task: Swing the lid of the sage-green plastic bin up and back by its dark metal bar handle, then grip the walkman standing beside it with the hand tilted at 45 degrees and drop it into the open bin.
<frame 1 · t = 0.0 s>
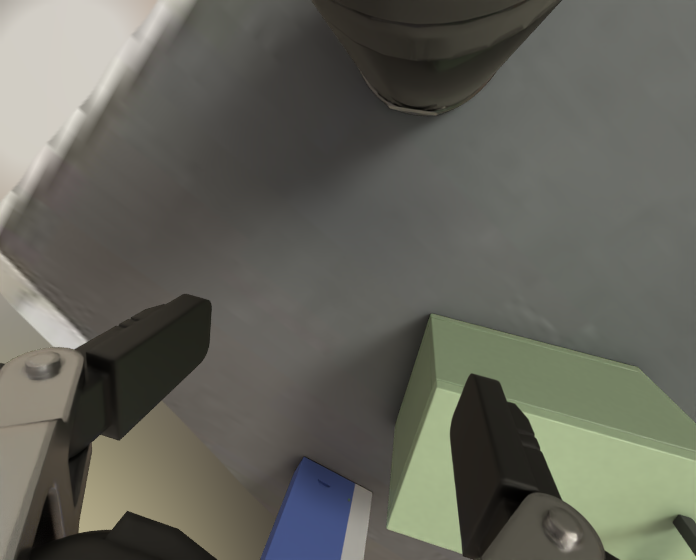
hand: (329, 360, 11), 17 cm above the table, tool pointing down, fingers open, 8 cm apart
walkman: (333, 480, 36), on the table
lid: (563, 545, 18), point 12 cm above the table, hinge at 0.0°
bin: (504, 398, 29), on the table
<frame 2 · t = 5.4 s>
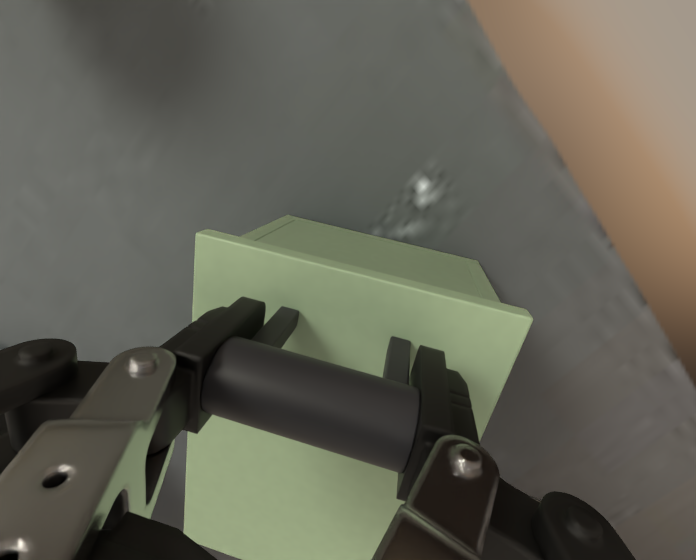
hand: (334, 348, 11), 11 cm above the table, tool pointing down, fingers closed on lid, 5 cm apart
lid: (300, 500, 13), point 12 cm above the table, hinge at -0.1°, touching gripper
bin: (353, 347, 24), on the table
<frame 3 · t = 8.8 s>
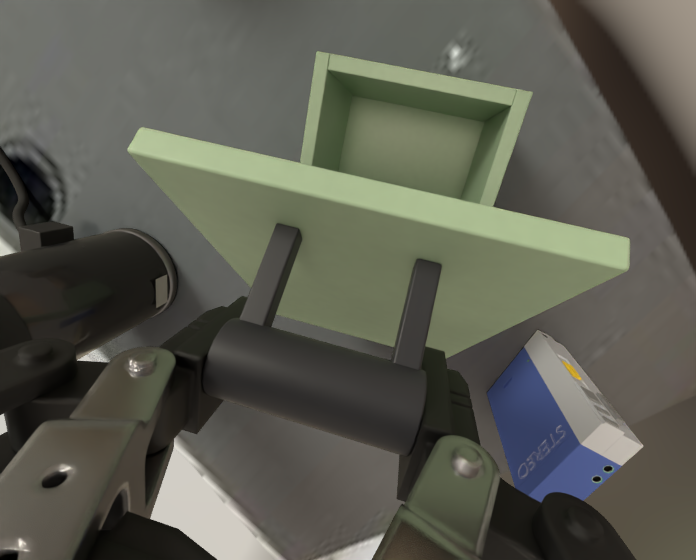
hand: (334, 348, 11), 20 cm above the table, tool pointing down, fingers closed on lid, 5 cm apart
walkman: (522, 368, 32), on the table
lid: (343, 347, 15), point 17 cm above the table, hinge at 51.4°, touching gripper
bin: (394, 200, 29), on the table
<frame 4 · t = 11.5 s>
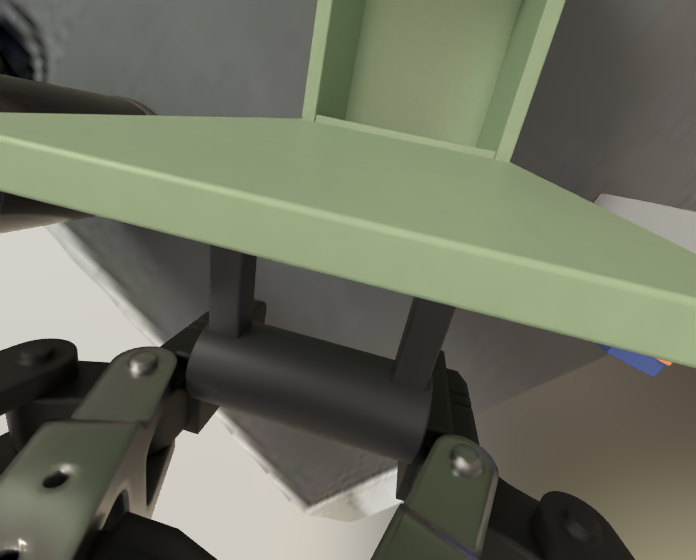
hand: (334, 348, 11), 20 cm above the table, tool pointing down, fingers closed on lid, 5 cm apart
walkman: (579, 246, 28), on the table
lid: (367, 233, 13), point 17 cm above the table, hinge at 95.0°, touching gripper
bin: (433, 34, 25), on the table
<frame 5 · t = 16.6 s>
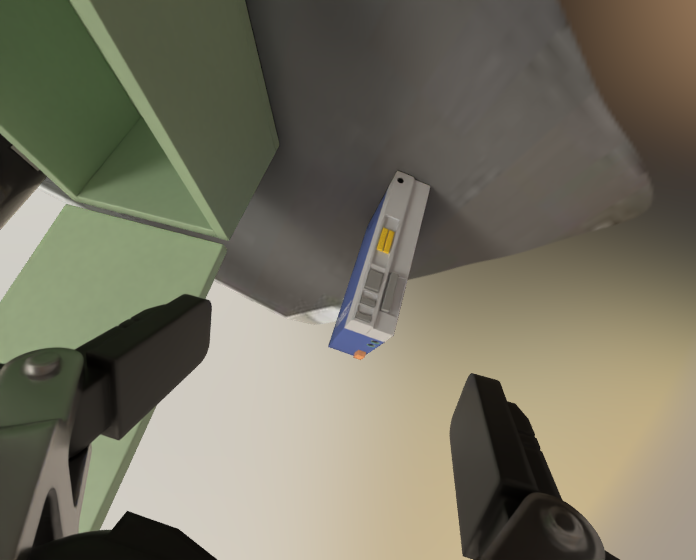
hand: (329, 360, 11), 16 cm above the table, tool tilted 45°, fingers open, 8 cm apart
walkman: (395, 205, 29), on the table
lid: (105, 354, 22), point 17 cm above the table, hinge at 95.5°
bin: (158, 16, 20), on the table
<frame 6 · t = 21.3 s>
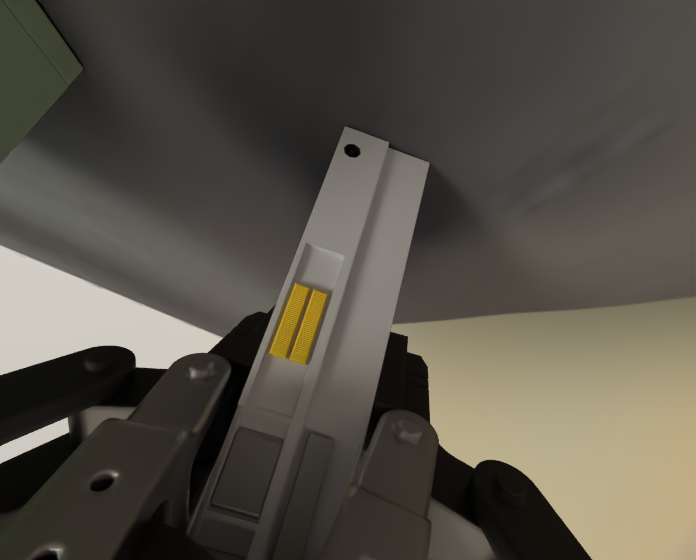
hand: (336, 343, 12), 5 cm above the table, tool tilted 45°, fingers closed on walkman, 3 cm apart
walkman: (359, 210, 14), on the table, touching gripper
when the fingers open (12 cm above the table, at t = 29.9 s): walkman drops 5 cm, resting on bin.
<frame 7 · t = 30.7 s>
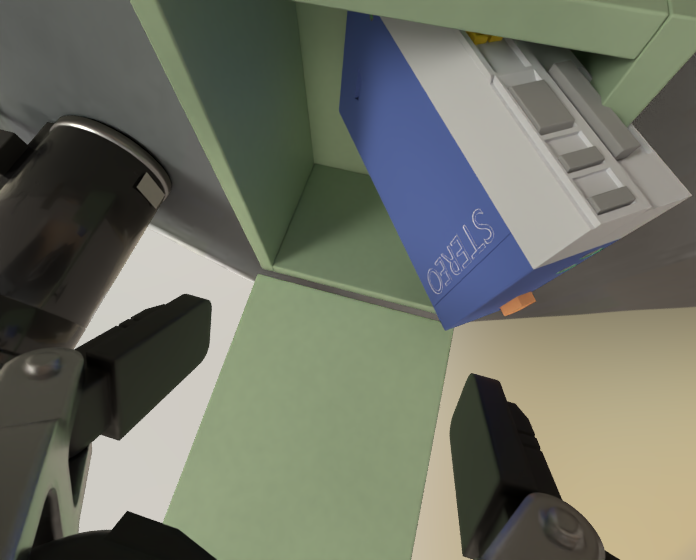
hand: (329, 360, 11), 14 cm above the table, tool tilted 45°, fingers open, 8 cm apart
walkman: (373, 21, 14), point 2 cm above the table, touching bin
lid: (315, 446, 20), point 17 cm above the table, hinge at 95.5°
bin: (406, 68, 17), on the table
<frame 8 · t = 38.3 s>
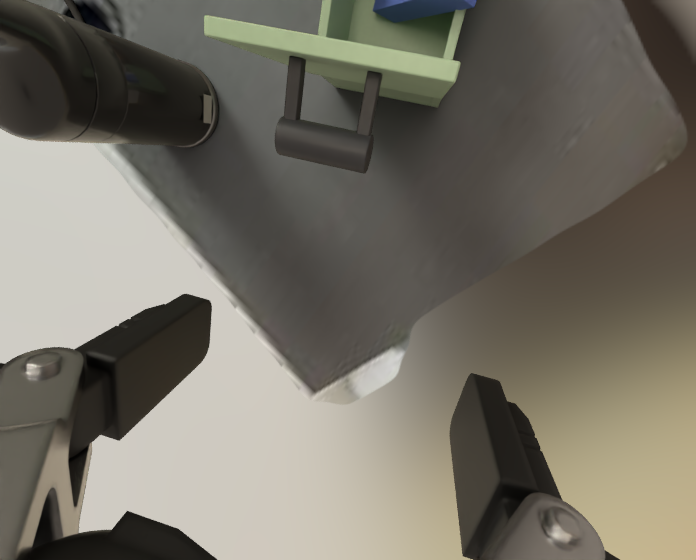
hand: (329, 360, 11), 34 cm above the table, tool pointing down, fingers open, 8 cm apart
lid: (352, 110, 24), point 17 cm above the table, hinge at 95.5°
bin: (403, 12, 36), on the table
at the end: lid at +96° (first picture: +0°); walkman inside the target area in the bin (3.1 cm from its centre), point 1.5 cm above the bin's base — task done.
